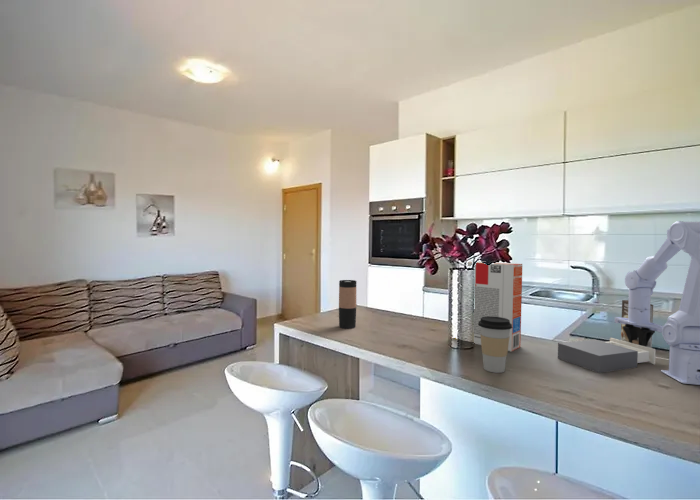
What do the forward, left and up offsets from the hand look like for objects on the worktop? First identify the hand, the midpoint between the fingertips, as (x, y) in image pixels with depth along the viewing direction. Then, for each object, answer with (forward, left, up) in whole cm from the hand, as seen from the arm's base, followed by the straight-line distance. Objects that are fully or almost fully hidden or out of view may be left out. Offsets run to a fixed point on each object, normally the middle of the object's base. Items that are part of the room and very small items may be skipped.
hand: (637, 349), depth 123 cm
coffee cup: (-23, +49, -3) cm, 55 cm away
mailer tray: (-5, +8, -2) cm, 9 cm away
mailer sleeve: (-9, +16, -3) cm, 19 cm away
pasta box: (+7, +47, -3) cm, 48 cm away
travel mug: (+19, +102, -3) cm, 104 cm away
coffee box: (+17, -8, -3) cm, 19 cm away
